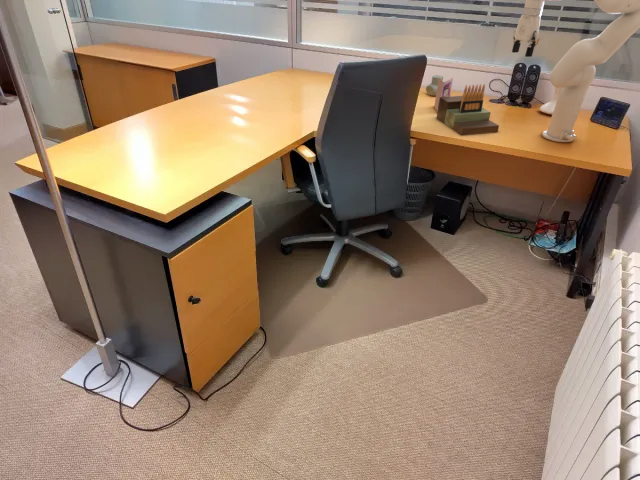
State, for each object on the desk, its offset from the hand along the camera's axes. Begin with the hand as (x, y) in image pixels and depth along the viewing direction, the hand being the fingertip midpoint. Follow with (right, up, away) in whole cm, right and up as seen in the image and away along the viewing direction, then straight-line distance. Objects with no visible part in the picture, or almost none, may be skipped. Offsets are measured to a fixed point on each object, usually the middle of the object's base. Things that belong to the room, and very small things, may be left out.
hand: (521, 54), depth 197 cm
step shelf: (-24, -31, +4) cm, 40 cm away
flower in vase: (+25, -21, +20) cm, 38 cm away
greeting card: (-32, -19, +23) cm, 44 cm away
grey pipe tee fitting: (-28, -3, +45) cm, 53 cm away
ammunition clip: (-24, -27, 0) cm, 36 cm away
